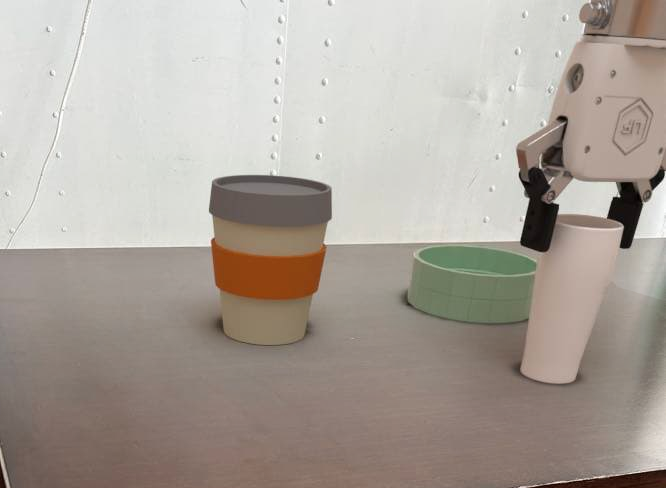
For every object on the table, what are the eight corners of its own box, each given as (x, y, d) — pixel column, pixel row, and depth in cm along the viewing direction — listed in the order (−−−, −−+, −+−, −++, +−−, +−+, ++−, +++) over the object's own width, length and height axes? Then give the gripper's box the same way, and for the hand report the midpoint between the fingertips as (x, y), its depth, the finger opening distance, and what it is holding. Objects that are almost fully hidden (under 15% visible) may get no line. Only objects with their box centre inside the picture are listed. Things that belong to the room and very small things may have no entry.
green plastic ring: (520, 297, 107) (530, 249, 104) (542, 333, 94) (555, 280, 91) (404, 288, 108) (410, 241, 104) (410, 323, 95) (418, 270, 92)
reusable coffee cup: (246, 358, 82) (253, 199, 74) (186, 322, 91) (186, 177, 83) (344, 340, 88) (360, 192, 80) (278, 309, 97) (287, 172, 89)
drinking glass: (553, 397, 77) (595, 231, 69) (497, 374, 82) (531, 216, 74) (595, 384, 81) (640, 225, 73) (539, 363, 85) (576, 211, 77)
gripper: (584, 18, 59) (527, 260, 68) (747, 34, 66) (676, 254, 75) (516, 16, 65) (473, 240, 74) (673, 31, 71) (615, 235, 80)
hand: (575, 247), depth 74 cm, fingers open, 9 cm apart
